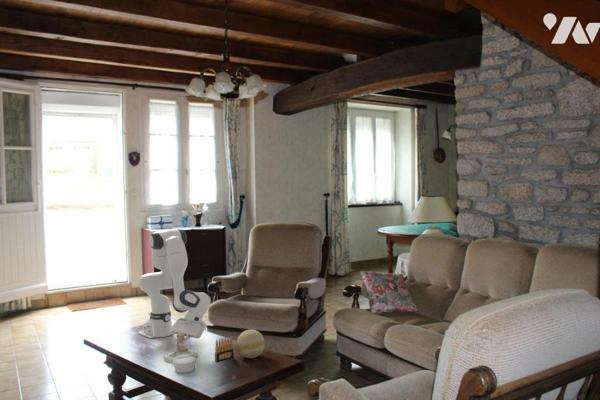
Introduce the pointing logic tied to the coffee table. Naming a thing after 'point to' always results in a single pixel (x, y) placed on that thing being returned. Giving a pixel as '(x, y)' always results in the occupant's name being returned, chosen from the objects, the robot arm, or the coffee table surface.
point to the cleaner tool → (180, 345)
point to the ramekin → (184, 364)
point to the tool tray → (171, 356)
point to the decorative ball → (250, 343)
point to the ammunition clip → (224, 350)
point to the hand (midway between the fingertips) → (179, 342)
